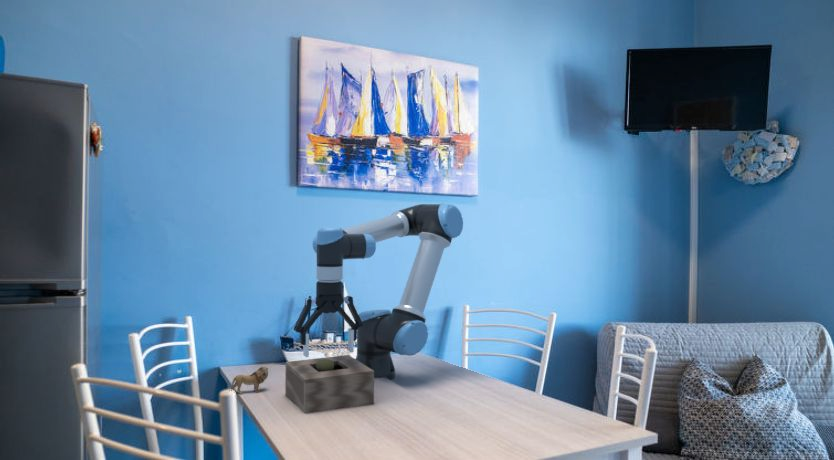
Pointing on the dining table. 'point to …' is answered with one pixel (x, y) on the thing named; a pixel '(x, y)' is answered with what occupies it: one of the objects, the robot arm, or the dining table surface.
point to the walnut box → (329, 384)
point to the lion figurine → (251, 379)
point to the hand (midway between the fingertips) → (328, 353)
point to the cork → (324, 365)
